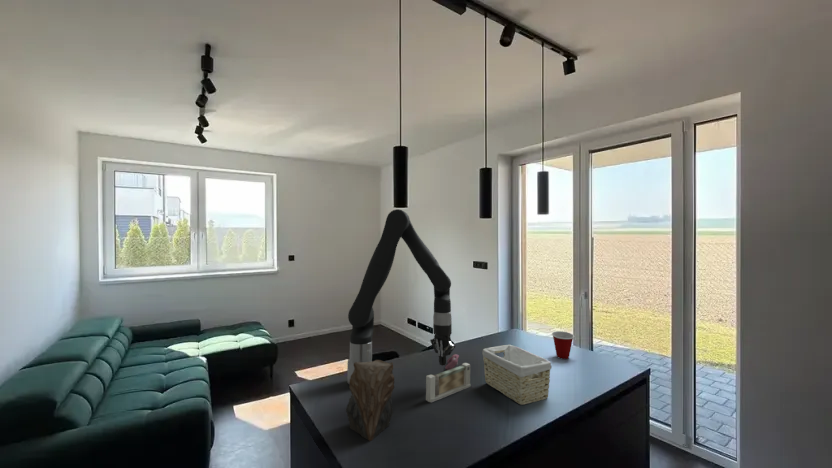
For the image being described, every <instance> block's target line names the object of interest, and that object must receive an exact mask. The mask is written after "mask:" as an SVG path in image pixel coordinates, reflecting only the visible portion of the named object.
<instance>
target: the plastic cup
mask: <svg viewBox="0 0 832 468" xmlns="http://www.w3.org/2000/svg"><path fill="white" fill-rule="evenodd" d="M551 336H552V338H553V343H554V349H555V354H556V358H558V357H559V358H558V359H561V358H562V359H563V360H567V359H569V358H570V354H571V350H572V344H573V341H574V338H575V335H574V334H573V333H571V332H567V331H561V330H560V331H558V330H557V331H552V333H551Z"/></svg>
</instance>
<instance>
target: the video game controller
mask: <svg viewBox="0 0 832 468" xmlns="http://www.w3.org/2000/svg"><path fill="white" fill-rule="evenodd" d="M459 358H460V355H459V354H456V353H454V354H453V355H452V356H451V357H449V358H448V359H446V364H445V365H444V366H445V367H444V369H445V371H447V370H450V369H453V368H456V367H457V366H458V365H459V362H458V361H459Z"/></svg>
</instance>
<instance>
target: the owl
mask: <svg viewBox="0 0 832 468" xmlns="http://www.w3.org/2000/svg"><path fill="white" fill-rule="evenodd" d="M393 370H394V362H387V361H384V360H381V359H375V360H372V362H370V361H369V362H355V363H354V371H353V373H352V375H351V376H350V382H349V383H350V384H349V389H350V390H349V391H350V392H351V395H350V398H349V399H348V403H347V405H346V408H345V411H346V414H347V418H348V423H349V429H350V430H352V431H354V433H357V434H358V435H360V436H361V438H363V439H366V440H367V441H369V442H371V441H373V440H374V439H375V438H376V437H377V436H380V434H381V433H383V432H384V431H385V429H387V428H388V427H390V424H391V423H390V422H391V420H392V416H393V414H394V409H393V401H392V395H393V391H394V389H395V385H394V384H395V376H394V374H393Z"/></svg>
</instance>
